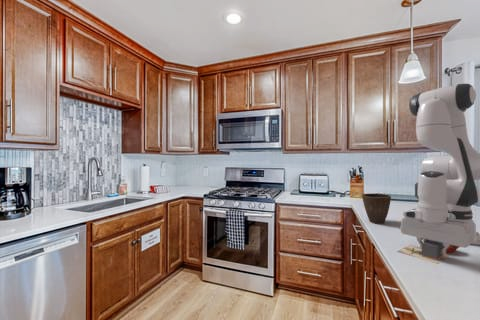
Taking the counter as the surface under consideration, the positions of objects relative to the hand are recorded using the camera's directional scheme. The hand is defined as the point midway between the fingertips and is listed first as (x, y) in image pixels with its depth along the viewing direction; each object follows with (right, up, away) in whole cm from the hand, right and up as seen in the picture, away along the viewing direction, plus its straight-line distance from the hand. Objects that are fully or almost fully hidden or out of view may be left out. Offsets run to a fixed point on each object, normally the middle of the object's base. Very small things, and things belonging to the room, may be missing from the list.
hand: (432, 251), depth 88 cm
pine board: (-2, -3, +3) cm, 4 cm away
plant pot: (+9, -3, +52) cm, 53 cm away
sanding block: (0, -2, 0) cm, 2 cm away
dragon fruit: (+8, -3, +6) cm, 10 cm away
